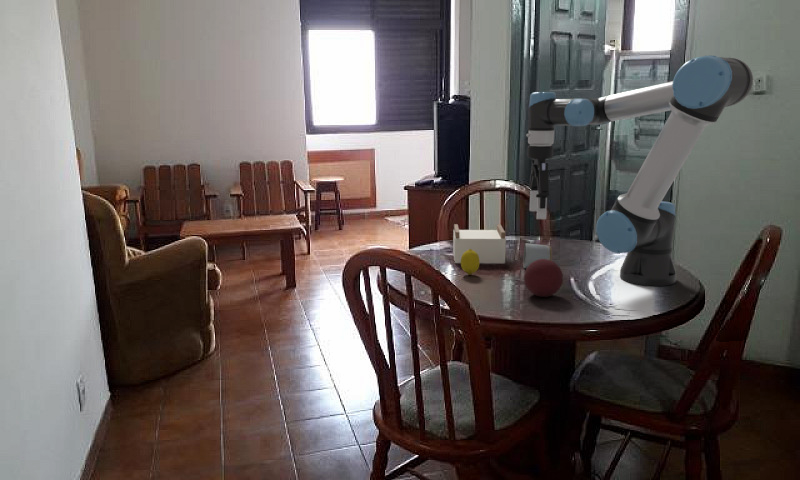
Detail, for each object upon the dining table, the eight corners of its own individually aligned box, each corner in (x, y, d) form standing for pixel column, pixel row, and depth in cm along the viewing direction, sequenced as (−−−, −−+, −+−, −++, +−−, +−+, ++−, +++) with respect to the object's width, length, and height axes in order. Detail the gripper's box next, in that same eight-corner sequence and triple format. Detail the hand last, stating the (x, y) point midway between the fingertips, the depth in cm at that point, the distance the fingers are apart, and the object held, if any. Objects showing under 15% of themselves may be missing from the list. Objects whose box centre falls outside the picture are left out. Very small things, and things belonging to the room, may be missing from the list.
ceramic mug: (552, 271, 191) (553, 246, 190) (524, 270, 192) (525, 246, 190) (547, 263, 201) (548, 239, 200) (521, 262, 202) (522, 239, 201)
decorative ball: (530, 288, 174) (532, 253, 172) (566, 293, 169) (568, 257, 167) (518, 298, 165) (519, 261, 163) (555, 304, 160) (557, 266, 158)
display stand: (505, 263, 200) (505, 232, 198) (454, 263, 201) (455, 232, 199) (500, 253, 214) (501, 224, 212) (453, 252, 215) (453, 224, 213)
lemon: (456, 275, 187) (457, 249, 186) (468, 271, 191) (468, 246, 189) (471, 278, 184) (472, 252, 182) (482, 274, 188) (483, 248, 186)
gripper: (521, 142, 200) (519, 208, 205) (534, 148, 176) (531, 222, 181) (545, 142, 200) (542, 208, 205) (561, 148, 176) (557, 222, 180)
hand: (537, 215), depth 193 cm, fingers open, 13 cm apart
